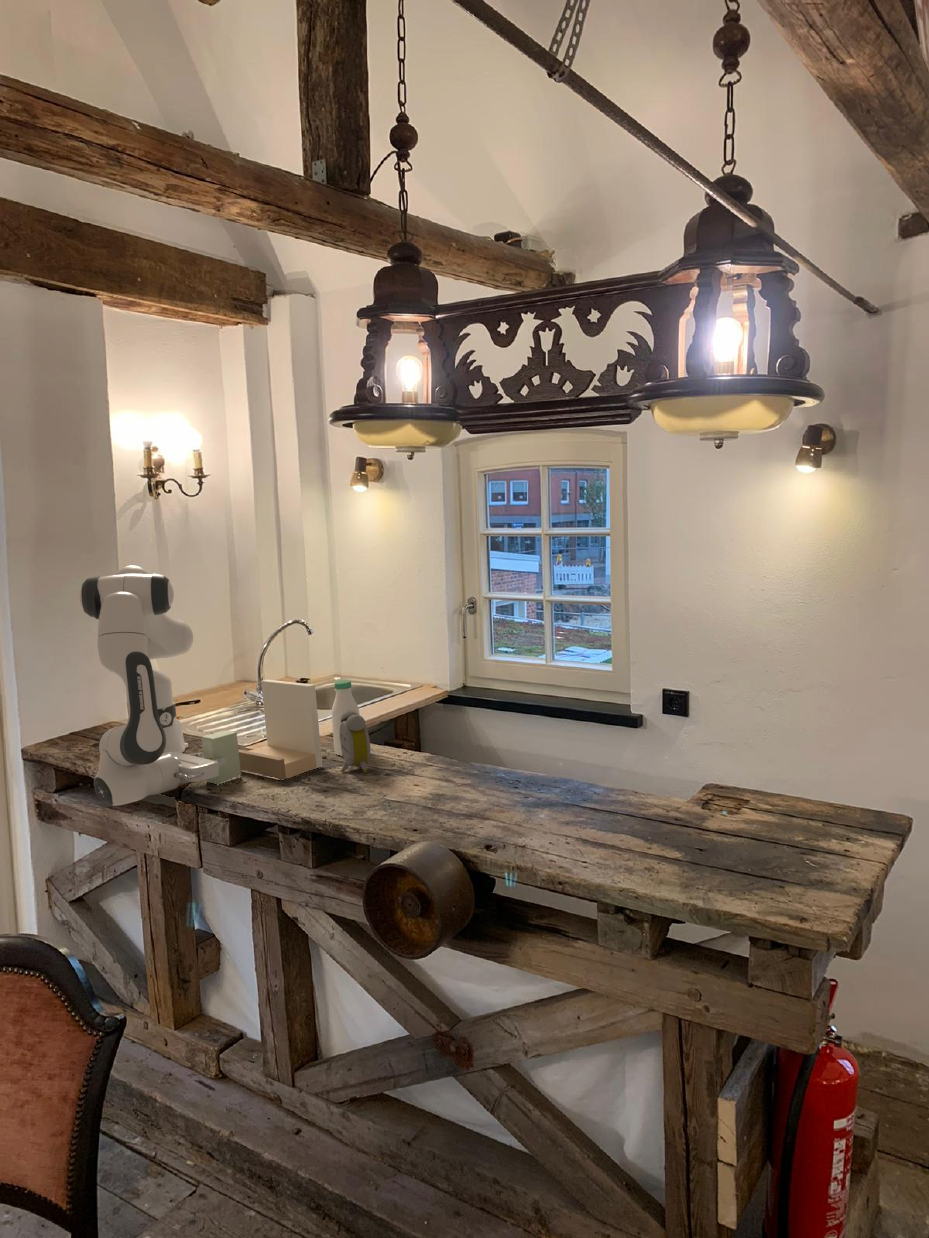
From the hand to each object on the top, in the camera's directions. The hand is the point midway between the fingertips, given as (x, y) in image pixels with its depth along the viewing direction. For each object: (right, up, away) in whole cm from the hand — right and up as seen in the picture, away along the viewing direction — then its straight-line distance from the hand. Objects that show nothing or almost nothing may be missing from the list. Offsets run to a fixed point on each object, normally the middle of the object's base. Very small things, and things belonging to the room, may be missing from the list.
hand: (213, 757), depth 219 cm
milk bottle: (+32, -2, +20) cm, 37 cm away
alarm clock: (+35, -4, +3) cm, 36 cm away
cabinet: (+2, -6, +2) cm, 7 cm away
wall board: (+14, -4, +9) cm, 17 cm away
